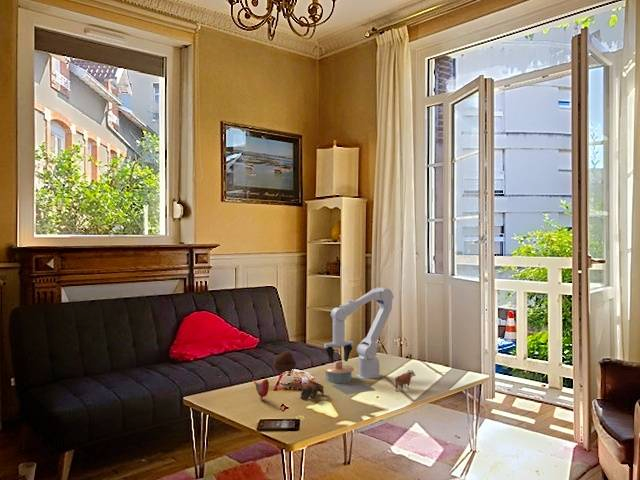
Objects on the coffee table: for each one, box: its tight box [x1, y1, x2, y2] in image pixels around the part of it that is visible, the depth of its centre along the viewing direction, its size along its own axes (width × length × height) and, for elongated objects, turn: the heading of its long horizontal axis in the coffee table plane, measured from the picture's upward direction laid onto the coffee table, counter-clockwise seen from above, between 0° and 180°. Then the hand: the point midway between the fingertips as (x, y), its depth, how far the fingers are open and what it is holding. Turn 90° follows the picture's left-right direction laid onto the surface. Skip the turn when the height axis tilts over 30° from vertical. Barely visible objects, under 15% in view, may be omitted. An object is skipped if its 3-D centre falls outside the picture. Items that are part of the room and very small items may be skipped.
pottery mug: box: [300, 379, 325, 401], centre depth 234 cm, size 12×10×8 cm
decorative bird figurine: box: [252, 378, 270, 402], centre depth 232 cm, size 3×18×10 cm, turn 27°
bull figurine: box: [394, 369, 416, 392], centre depth 246 cm, size 4×13×8 cm, turn 137°
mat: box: [331, 381, 376, 395], centre depth 248 cm, size 15×15×1 cm
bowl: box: [325, 371, 353, 384], centre depth 262 cm, size 12×12×5 cm
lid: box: [323, 360, 355, 374], centre depth 262 cm, size 14×14×5 cm
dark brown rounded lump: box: [272, 350, 297, 375], centre depth 257 cm, size 11×11×15 cm
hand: (338, 361), depth 262 cm, fingers open, 7 cm apart
